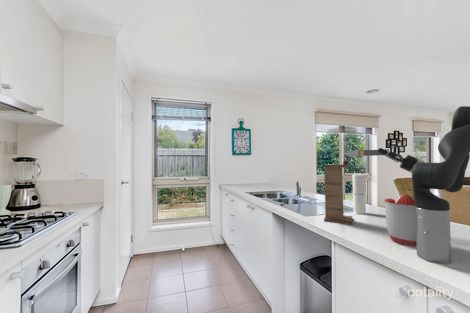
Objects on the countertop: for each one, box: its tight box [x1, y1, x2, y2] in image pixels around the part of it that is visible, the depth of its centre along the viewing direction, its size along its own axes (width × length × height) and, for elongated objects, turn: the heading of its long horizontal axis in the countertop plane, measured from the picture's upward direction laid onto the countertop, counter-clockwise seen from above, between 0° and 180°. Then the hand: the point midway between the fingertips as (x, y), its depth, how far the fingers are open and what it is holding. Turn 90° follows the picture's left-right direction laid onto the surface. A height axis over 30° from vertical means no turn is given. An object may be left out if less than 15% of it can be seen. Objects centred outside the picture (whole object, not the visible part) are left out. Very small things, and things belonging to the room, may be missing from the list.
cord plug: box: [346, 148, 390, 157], centre depth 125 cm, size 20×5×3 cm, turn 62°
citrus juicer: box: [384, 193, 417, 247], centre depth 97 cm, size 16×17×20 cm
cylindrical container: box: [351, 173, 367, 215], centre depth 149 cm, size 7×7×25 cm
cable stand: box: [323, 160, 353, 225], centre depth 132 cm, size 13×14×34 cm
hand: (378, 149), depth 123 cm, fingers closed on cord plug, 3 cm apart
